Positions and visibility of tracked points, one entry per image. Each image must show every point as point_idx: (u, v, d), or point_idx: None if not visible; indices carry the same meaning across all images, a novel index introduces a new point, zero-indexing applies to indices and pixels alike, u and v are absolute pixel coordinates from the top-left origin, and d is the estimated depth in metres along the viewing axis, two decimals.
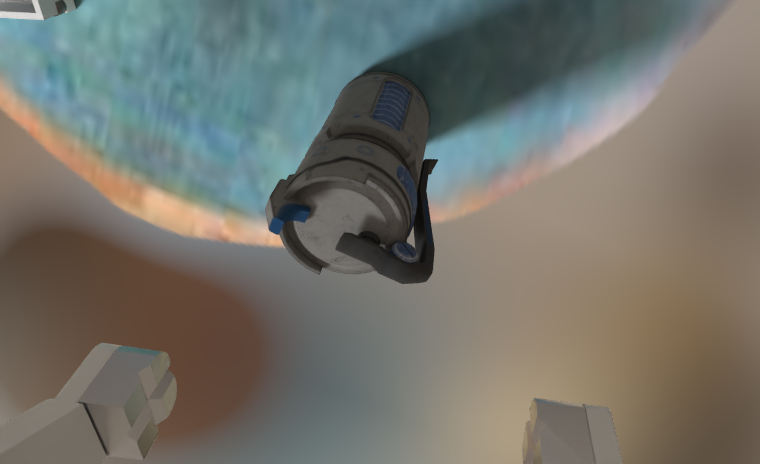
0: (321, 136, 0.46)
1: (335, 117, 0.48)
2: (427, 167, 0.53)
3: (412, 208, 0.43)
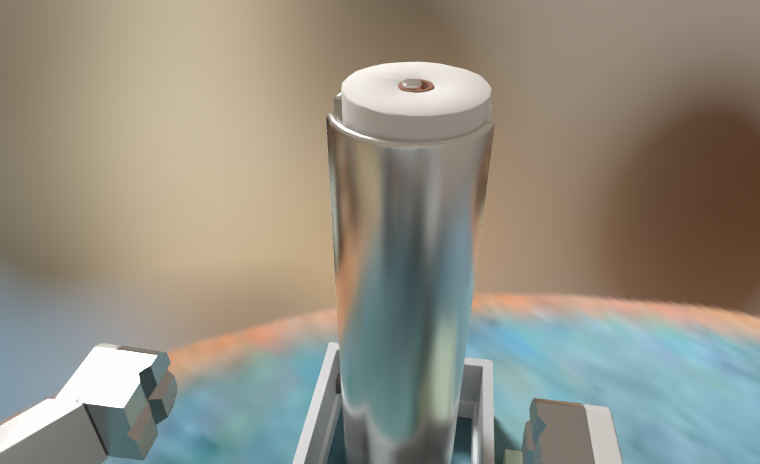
0: None
1: None
2: None
3: None
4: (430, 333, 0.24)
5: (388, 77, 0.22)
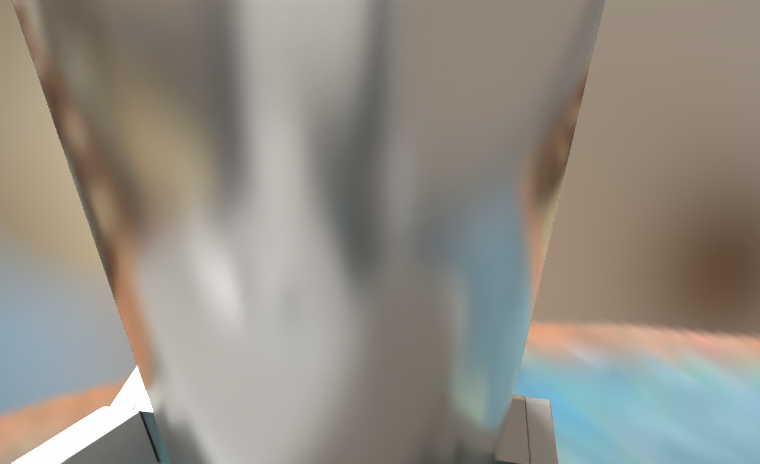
0: None
1: None
2: None
3: None
4: None
5: None
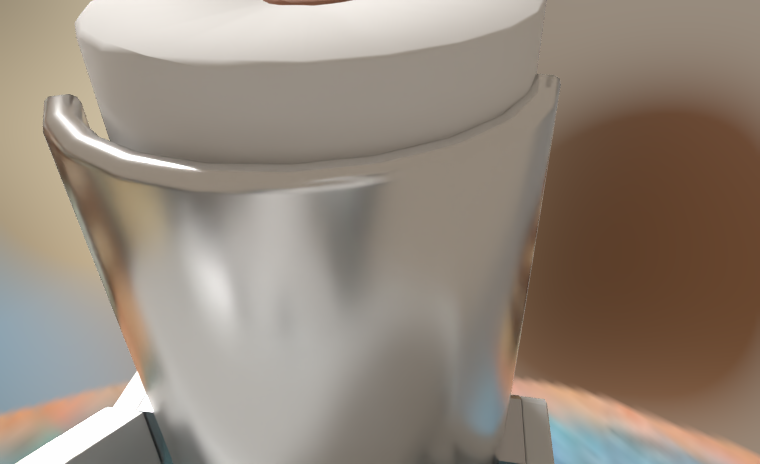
0: None
1: None
2: None
3: None
4: None
5: None
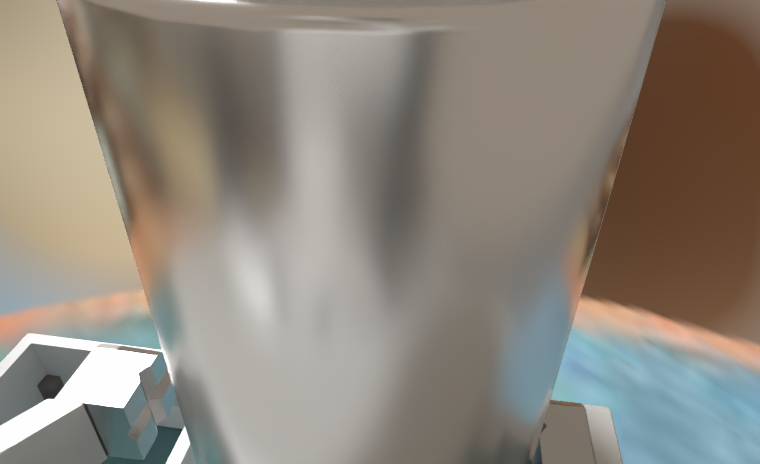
0: None
1: None
2: None
3: None
4: None
5: None
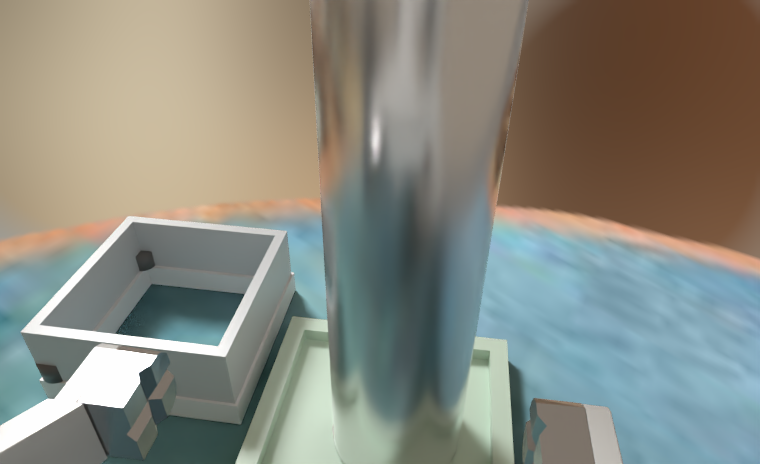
0: None
1: None
2: None
3: None
4: (459, 217, 0.18)
5: None
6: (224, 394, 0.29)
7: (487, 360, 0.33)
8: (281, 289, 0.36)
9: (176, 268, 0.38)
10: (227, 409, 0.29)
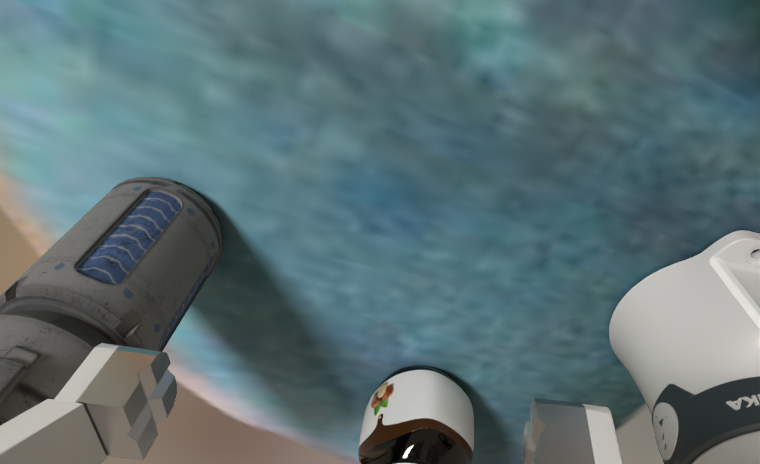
0: (113, 316, 0.33)
1: (146, 292, 0.36)
2: None
3: None
4: None
5: None
6: None
7: None
8: None
9: None
10: None
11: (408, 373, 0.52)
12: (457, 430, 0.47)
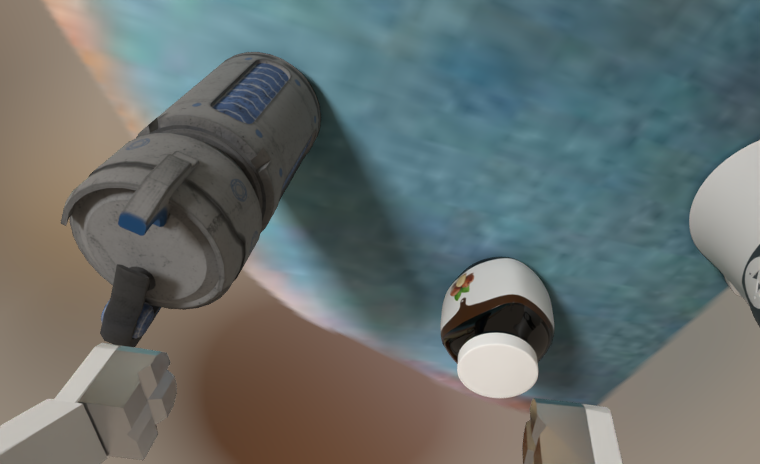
0: (250, 148, 0.35)
1: (272, 137, 0.38)
2: None
3: None
4: None
5: None
6: None
7: None
8: None
9: None
10: None
11: (488, 262, 0.54)
12: (541, 308, 0.49)
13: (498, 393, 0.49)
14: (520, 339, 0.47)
